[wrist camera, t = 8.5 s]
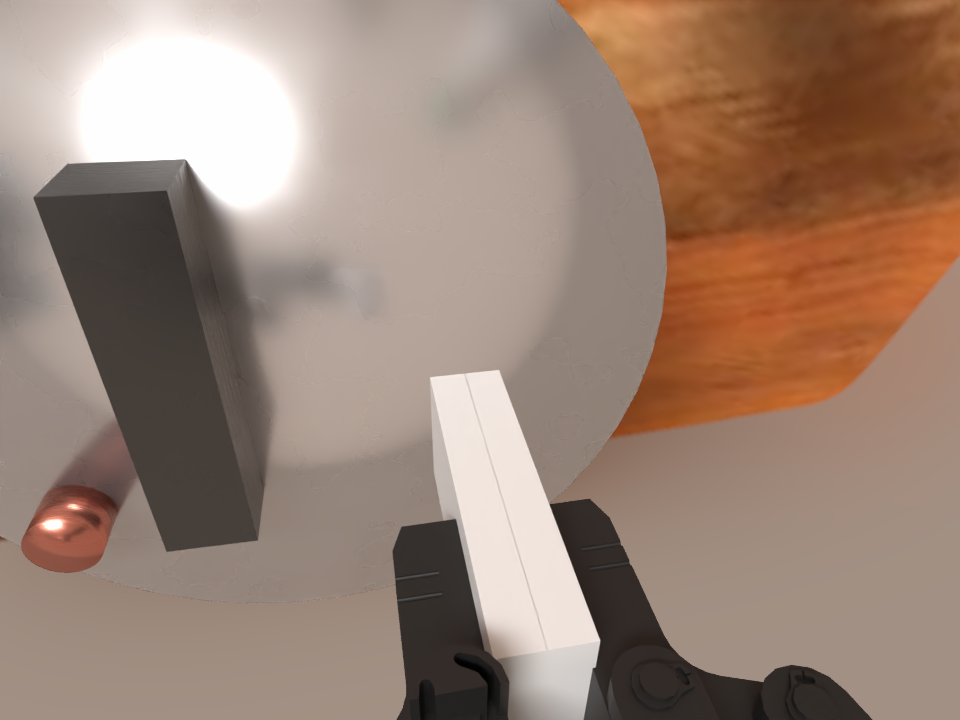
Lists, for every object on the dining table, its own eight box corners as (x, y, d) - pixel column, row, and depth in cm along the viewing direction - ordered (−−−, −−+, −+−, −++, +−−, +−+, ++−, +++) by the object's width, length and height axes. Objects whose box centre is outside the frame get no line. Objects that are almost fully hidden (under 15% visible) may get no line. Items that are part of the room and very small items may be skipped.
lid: (718, -144, 14) (802, -153, 12) (607, 533, 26) (636, 604, 24) (-500, -167, 11) (-753, -187, 9) (-3, 615, 23) (-47, 706, 20)
